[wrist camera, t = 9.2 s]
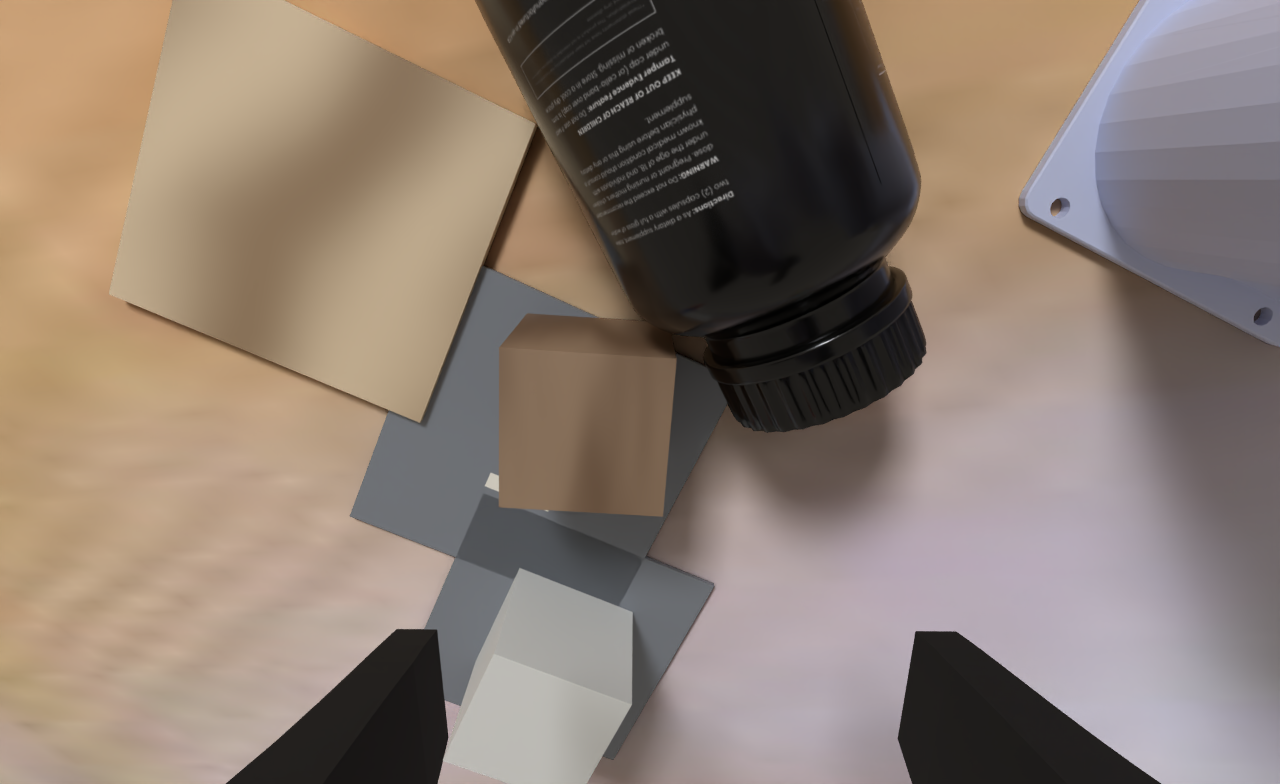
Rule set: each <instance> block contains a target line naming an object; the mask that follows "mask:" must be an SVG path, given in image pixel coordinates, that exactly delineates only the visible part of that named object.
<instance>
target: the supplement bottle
mask: <svg viewBox="0 0 1280 784" xmlns="http://www.w3.org/2000/svg"><path fill="white" fill-rule="evenodd" d="M475 2H476V4H477V6H478V8H479V10H480V12H481V14H482V16H483V18H484V20H485V22H486V24H487V26H488V28H489V30H490V32H491V34H492V36H493V38H494V40H495V42H496V44H497V46H498V48H499V50H500V52H501V54H502V56H503V58H504V59H505V61H506V63H507V65H508V67H509V69H510V71H511V73H512V75H513V77H514V79H515V81H516V83H517V85H518V87H519V89H520V91H521V93H522V95H523V97H524V99H525V101H526V102H527V104H528V106H529V108H530V110H531V112H532V114H533V116H534V118H535V120H536V122H537V124H538V126H539V128H540V130H541V132H542V134H543V136H544V138H545V140H546V142H547V143H548V145H549V147H550V149H551V151H552V153H553V155H554V157H555V159H556V161H557V163H558V165H559V167H560V169H561V171H562V173H563V175H564V177H565V179H566V181H567V183H568V184H569V186H570V188H571V190H572V192H573V194H574V196H575V198H576V200H577V202H578V204H579V206H580V208H581V210H582V212H583V214H584V216H585V218H586V220H587V222H588V224H589V226H590V227H591V229H592V231H593V233H594V235H595V237H596V239H597V241H598V243H599V245H600V247H601V249H602V251H603V253H604V255H605V257H606V259H607V261H608V263H609V265H610V267H611V268H612V270H613V272H614V274H615V276H616V278H617V280H618V282H619V284H620V286H621V288H622V290H623V292H624V294H625V295H626V296H627V298H628V300H629V302H630V304H631V305H632V307H633V309H634V310H635V311H636V312H637V313H638V315H639V316H641V317H642V318H643V319H644V320H645V321H647V322H648V323H650V324H651V325H653V326H655V327H657V328H658V329H660V330H663V331H665V332H668V333H672V334H676V335H682V336H692V337H704V338H705V340H706V342H707V344H708V347H707V348H706V350H705V352H704V356H703V359H704V362H705V364H706V367H707V369H708V371H709V373H710V375H711V377H712V378H713V379H714V380H715V381H717V383H718V385H719V387H720V389H721V391H722V393H723V395H724V397H725V399H726V402H727V404H728V406H729V408H730V410H731V412H732V414H733V416H734V417H735V419H736V420H737V421H738V422H740V423H741V424H742V425H743V426H744V427H747V428H752V430H753V431H764V432H767V433H768V432H775V431H779V432H786V431H790V430H794V429H805V428H808V427H810V426H813V425H820V424H824V423H827V422H829V421H831V420H833V419H837V418H841V417H845V416H847V415H848V414H850V413H852V412H854V411H857V410H860V409H863V408H865V407H867V406H868V405H870V404H871V403H873V402H874V401H877V400H879V399H881V398H883V397H885V396H886V395H887V394H888V393H889V392H890V391H892V390H894V389H895V388H897V387H899V386H901V385H902V383H903V382H904V381H905V380H906V379H907V378H908V377H910V376H911V375H913V374H914V372H915V369H916V368H917V367H918V366H919V365H921V364H922V358H923V356H924V355H925V354H926V347H925V346H926V340H925V336H924V333H923V330H922V327H921V325H920V322H919V319H918V317H917V314H916V311H915V309H914V306H913V303H912V301H911V299H912V290H911V287H910V285H909V282H908V280H907V277H906V275H905V273H904V272H903V271H902V270H900V269H898V268H895V267H889V266H888V264H887V261H886V258H885V257H886V256H887V255H888V253H889V252H890V251H891V250H892V249H893V247H894V246H895V245H896V244H897V242H898V241H899V240H900V239H901V237H902V236H903V235H904V233H905V232H906V230H907V229H908V227H909V225H910V223H911V221H912V219H913V217H914V215H915V212H916V209H917V206H918V201H919V196H920V190H921V175H920V172H919V168H918V164H917V161H916V158H915V155H914V151H913V148H912V145H911V142H910V139H909V136H908V133H907V130H906V127H905V124H904V121H903V118H902V115H901V113H900V110H899V107H898V104H897V101H896V98H895V95H894V92H893V89H892V86H891V84H890V81H889V78H888V75H887V72H886V69H885V66H884V63H883V60H882V58H881V55H880V52H879V49H878V46H877V43H876V40H875V37H874V34H873V32H872V29H871V26H870V23H869V20H868V17H867V14H866V11H865V8H864V5H863V3H862V0H475Z"/></svg>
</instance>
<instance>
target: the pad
mask: <svg viewBox="0 0 1280 784" xmlns="http://www.w3.org/2000/svg"><path fill="white" fill-rule="evenodd" d="M537 126H538V125H537V124H535V123H533V122H531V121H529V120H527V119H525V118H523V117H521V116H519V115H517V114H515V113H513V112H511V111H509V110H507V109H505V108H502V107H500V106H498V105H496V104H494V103H492V102H490V101H488V100H486V99H484V98H482V97H480V96H478V95H476V94H474V93H472V92H470V91H468V90H466V89H464V88H462V87H460V86H458V85H456V84H454V83H452V82H450V81H447V80H445V79H443V78H441V77H439V76H437V75H435V74H433V73H431V72H429V71H427V70H425V69H423V68H421V67H419V66H417V65H415V64H413V63H411V62H409V61H407V60H405V59H403V58H401V57H399V56H397V55H395V54H392V53H390V52H388V51H386V50H384V49H382V48H380V47H378V46H376V45H374V44H372V43H370V42H368V41H366V40H364V39H362V38H360V37H358V36H356V35H354V34H352V33H350V32H348V31H346V30H344V29H342V28H340V27H337V26H335V25H333V24H331V23H329V22H327V21H325V20H323V19H321V18H319V17H317V16H315V15H313V14H311V13H309V12H307V11H305V10H303V9H301V8H299V7H297V6H295V5H293V4H291V3H289V2H287V1H285V0H173V1H172V6H171V10H170V15H169V19H168V24H167V29H166V33H165V38H164V42H163V47H162V52H161V56H160V61H159V65H158V70H157V75H156V79H155V84H154V88H153V93H152V98H151V102H150V107H149V111H148V116H147V121H146V125H145V130H144V134H143V139H142V144H141V148H140V153H139V157H138V162H137V167H136V171H135V176H134V180H133V185H132V190H131V194H130V199H129V203H128V208H127V213H126V217H125V222H124V226H123V231H122V236H121V240H120V245H119V249H118V254H117V259H116V263H115V268H114V272H113V277H112V282H111V286H110V291H109V294H110V295H112V296H114V297H117V298H119V299H122V300H124V301H126V302H129V303H131V304H134V305H136V306H139V307H141V308H143V309H146V310H148V311H151V312H153V313H155V314H158V315H160V316H163V317H165V318H168V319H170V320H172V321H175V322H177V323H180V324H182V325H184V326H187V327H189V328H192V329H194V330H197V331H199V332H201V333H204V334H206V335H209V336H211V337H214V338H216V339H218V340H221V341H223V342H226V343H228V344H230V345H233V346H235V347H238V348H240V349H243V350H245V351H247V352H250V353H252V354H255V355H257V356H259V357H262V358H264V359H267V360H269V361H272V362H274V363H276V364H279V365H281V366H284V367H286V368H288V369H291V370H293V371H296V372H298V373H301V374H303V375H305V376H308V377H310V378H313V379H315V380H318V381H320V382H322V383H325V384H327V385H330V386H332V387H334V388H337V389H339V390H342V391H344V392H347V393H349V394H351V395H354V396H356V397H359V398H361V399H363V400H366V401H368V402H371V403H373V404H376V405H378V406H380V407H383V408H385V409H388V410H390V411H392V412H395V413H397V414H400V415H402V416H405V417H407V418H409V419H412V420H414V421H417V422H419V423H420V422H421V421H422V420H423V417H424V415H425V412H426V410H427V407H428V405H429V402H430V399H431V397H432V394H433V392H434V389H435V386H436V384H437V381H438V379H439V376H440V374H441V371H442V368H443V366H444V363H445V361H446V358H447V355H448V353H449V350H450V348H451V345H452V343H453V340H454V337H455V335H456V332H457V330H458V327H459V325H460V322H461V319H462V317H463V314H464V312H465V309H466V306H467V304H468V301H469V299H470V296H471V294H472V291H473V288H474V286H475V283H476V281H477V278H478V276H479V273H480V270H481V268H482V266H483V265H484V263H485V260H486V258H487V255H488V252H489V250H490V247H491V245H492V242H493V239H494V237H495V234H496V232H497V229H498V227H499V224H500V221H501V219H502V216H503V214H504V211H505V209H506V206H507V203H508V201H509V198H510V196H511V193H512V191H513V188H514V185H515V183H516V180H517V178H518V175H519V172H520V170H521V167H522V165H523V162H524V160H525V157H526V154H527V152H528V149H529V147H530V144H531V142H532V139H533V136H534V134H535V131H536V129H537Z"/></svg>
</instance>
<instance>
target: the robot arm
mask: <svg viewBox="0 0 1280 784" xmlns="http://www.w3.org/2000/svg"><path fill="white" fill-rule="evenodd" d="M1056 199H1059V200H1060V201H1061V205H1062V207H1061V210H1060V212H1059V213H1058V214H1057V215H1056V216H1052V214H1051V212H1050V207H1051V204H1052V203H1053V202H1054V201H1055V200H1056ZM1019 207H1020V210H1021V212H1022V213H1023V214H1024V215H1025V216H1026V217H1028V218H1030V219H1032V220H1034V221H1036V222H1038V223H1040V224H1042V225H1044V226H1045V227H1047V228H1049V229H1051V230H1053V231H1055V232H1057V233H1059V234H1061V235H1062V236H1064V237H1066V238H1068V239H1070V240H1072V241H1074V242H1076V243H1078V244H1080V245H1081V246H1083V247H1085V248H1087V249H1089V250H1091V251H1093V252H1095V253H1097V254H1098V255H1100V256H1102V257H1104V258H1106V259H1108V260H1110V261H1112V262H1114V263H1115V264H1117V265H1119V266H1121V267H1123V268H1125V269H1127V270H1129V271H1131V272H1133V273H1134V274H1136V275H1138V276H1140V277H1142V278H1144V279H1146V280H1148V281H1150V282H1151V283H1153V284H1155V285H1157V286H1159V287H1161V288H1163V289H1165V290H1167V291H1169V292H1170V293H1172V294H1174V295H1176V296H1178V297H1180V298H1182V299H1184V300H1186V301H1187V302H1189V303H1191V304H1193V305H1195V306H1197V307H1199V308H1201V309H1203V310H1204V311H1206V312H1208V313H1210V314H1212V315H1214V316H1216V317H1218V318H1220V319H1222V320H1223V321H1225V322H1227V323H1229V324H1231V325H1233V326H1235V327H1237V328H1239V329H1240V330H1242V331H1244V332H1246V333H1248V334H1250V335H1252V336H1254V337H1256V338H1257V339H1259V340H1261V341H1263V342H1265V343H1267V344H1271V345H1274V346H1278V347H1280V0H1139V2H1138V4H1137V5H1136V7H1135V8H1134V10H1133V12H1132V13H1131V15H1130V17H1129V18H1128V20H1127V21H1126V23H1125V25H1124V26H1123V28H1122V30H1121V31H1120V33H1119V34H1118V36H1117V38H1116V39H1115V41H1114V43H1113V44H1112V46H1111V47H1110V49H1109V51H1108V52H1107V54H1106V56H1105V57H1104V59H1103V60H1102V62H1101V64H1100V65H1099V67H1098V68H1097V70H1096V72H1095V73H1094V75H1093V77H1092V78H1091V80H1090V81H1089V83H1088V85H1087V86H1086V88H1085V90H1084V91H1083V93H1082V94H1081V96H1080V98H1079V99H1078V101H1077V103H1076V104H1075V106H1074V107H1073V109H1072V111H1071V112H1070V114H1069V116H1068V117H1067V119H1066V120H1065V122H1064V124H1063V125H1062V127H1061V129H1060V130H1059V132H1058V133H1057V135H1056V137H1055V138H1054V140H1053V142H1052V143H1051V145H1050V146H1049V148H1048V150H1047V151H1046V153H1045V154H1044V156H1043V158H1042V159H1041V161H1040V163H1039V164H1038V166H1037V167H1036V169H1035V171H1034V172H1033V174H1032V176H1031V177H1030V179H1029V180H1028V182H1027V184H1026V185H1025V187H1024V189H1023V190H1022V192H1021V195H1020V197H1019ZM1260 308H1261V314H1260V316H1259V318H1258V319H1257V320H1256V321H1254V315H1255V313H1256V312H1257V311H1258V310H1259V309H1260ZM447 741H448V729H447V720H446V710H445V700H444V690H443V681H442V671H441V661H440V651H439V642H438V632H437V629H397V630H395V631H394V632H393V633H392V634H391V635H390V636H389V637H388V638H387V639H386V640H385V641H383V642H382V643H381V644H380V645H379V646H378V647H377V648H376V649H375V650H374V651H373V652H372V653H371V654H369V655H368V656H367V657H366V658H365V659H364V660H363V661H362V662H361V663H360V664H359V665H358V666H357V667H356V668H355V669H354V670H353V671H352V672H350V673H349V674H348V675H347V676H346V677H345V678H344V679H343V680H342V681H341V682H340V683H339V684H338V685H337V686H336V687H335V688H334V689H332V690H331V691H330V692H329V693H328V694H327V695H326V696H325V697H324V698H323V699H322V700H321V701H320V702H319V703H317V704H316V705H315V706H314V707H313V708H312V709H311V710H310V711H309V712H308V713H306V714H305V715H304V716H303V717H302V718H301V719H300V720H299V721H298V722H297V723H295V724H294V725H293V726H292V727H291V728H290V729H289V730H288V731H287V732H286V733H285V734H283V735H282V736H281V737H280V738H279V739H278V740H277V741H276V742H274V743H273V744H272V745H271V746H270V747H269V748H267V749H266V750H265V751H264V752H263V753H261V754H260V755H259V756H258V757H257V758H256V759H254V760H253V761H252V762H251V763H250V764H248V765H247V766H246V767H245V768H244V769H243V770H241V771H240V772H239V773H238V774H237V775H235V776H234V777H233V778H232V779H231V780H230V781H228V782H227V783H226V784H437V783H438V779H439V775H440V771H441V767H442V762H443V758H444V754H445V750H446V745H447ZM898 741H899V744H900V747H901V750H902V753H903V757H904V760H905V763H906V766H907V769H908V772H909V775H910V778H911V781H912V784H1161V783H1159V782H1158V781H1157V780H1155V779H1154V778H1152V777H1151V776H1149V775H1148V774H1146V773H1145V772H1144V771H1142V770H1141V769H1139V768H1138V767H1136V766H1135V765H1134V764H1132V763H1131V762H1129V761H1128V760H1127V759H1125V758H1124V757H1122V756H1121V755H1120V754H1118V753H1117V752H1116V751H1114V750H1113V749H1111V748H1110V747H1109V746H1107V745H1106V744H1105V743H1103V742H1102V741H1100V740H1099V739H1098V738H1096V737H1095V736H1094V735H1092V734H1091V733H1090V732H1088V731H1087V730H1086V729H1084V728H1083V727H1082V726H1080V725H1079V724H1078V723H1076V722H1075V721H1074V720H1072V719H1071V718H1070V717H1068V716H1067V715H1066V714H1064V713H1063V712H1062V711H1060V710H1059V709H1058V708H1056V707H1055V706H1054V705H1053V704H1051V703H1050V702H1049V701H1047V700H1046V699H1045V698H1043V697H1042V696H1041V695H1039V694H1038V693H1037V692H1036V691H1034V690H1033V689H1032V688H1030V687H1029V686H1028V685H1027V684H1025V683H1024V682H1023V681H1021V680H1020V679H1019V678H1017V677H1016V676H1015V675H1014V674H1012V673H1011V672H1010V671H1008V670H1007V669H1006V668H1005V667H1003V666H1002V665H1001V664H999V663H998V662H997V661H995V660H994V659H993V658H991V657H990V656H989V655H988V654H986V653H985V652H984V651H982V650H981V649H980V648H978V647H977V646H976V645H974V644H973V643H971V642H970V641H969V640H967V639H966V638H964V637H963V636H962V635H960V634H959V633H957V632H938V631H916V632H915V638H914V644H913V650H912V656H911V662H910V668H909V674H908V680H907V686H906V692H905V698H904V704H903V710H902V716H901V722H900V728H899V734H898Z"/></svg>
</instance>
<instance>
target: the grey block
mask: <svg viewBox="0 0 1280 784" xmlns="http://www.w3.org/2000/svg"><path fill="white" fill-rule="evenodd" d="M632 627H633V612H631V611H629V610H626V609H624V608H621V607H618V606H616V605H613V604H611V603H608V602H606V601H603V600H601V599H598V598H595V597H593V596H590V595H588V594H585V593H583V592H580V591H577V590H575V589H572V588H570V587H567V586H565V585H562V584H560V583H557V582H554V581H552V580H549V579H547V578H544V577H542V576H539V575H536V574H534V573H531V572H529V571H526V570H524V569H521V568H519V570H518V573H517V575H516V577H515V579H514V581H513V583H512V585H511V587H510V590H509V592H508V594H507V596H506V598H505V600H504V602H503V604H502V606H501V609H500V611H499V613H498V615H497V617H496V619H495V621H494V623H493V626H492V628H491V630H490V632H489V634H488V636H487V638H486V640H485V643H484V645H483V647H482V649H481V651H480V653H479V655H478V657H477V660H476V662H475V665H474V668H473V671H472V674H471V677H470V680H469V683H468V686H467V689H466V692H465V695H464V698H463V701H462V704H461V707H460V710H459V713H458V716H457V719H456V722H455V725H454V728H453V731H452V734H451V737H450V740H449V743H448V746H447V749H446V752H445V755H444V758H443V761H444V762H447V763H450V764H453V765H456V766H459V767H461V768H464V769H467V770H470V771H473V772H476V773H479V774H482V775H485V776H488V777H491V778H494V779H497V780H500V781H502V782H505V783H508V784H587V782H588V780H589V779H590V777H591V775H592V773H593V772H594V770H595V768H596V766H597V765H598V763H599V761H600V759H601V758H602V756H603V754H604V752H605V751H606V749H607V747H608V745H609V744H610V742H611V740H612V738H613V737H614V735H615V733H616V732H617V730H618V728H619V726H620V725H621V723H622V721H623V719H624V718H625V716H626V714H627V712H628V711H629V709H630V707H631V705H632Z"/></svg>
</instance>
